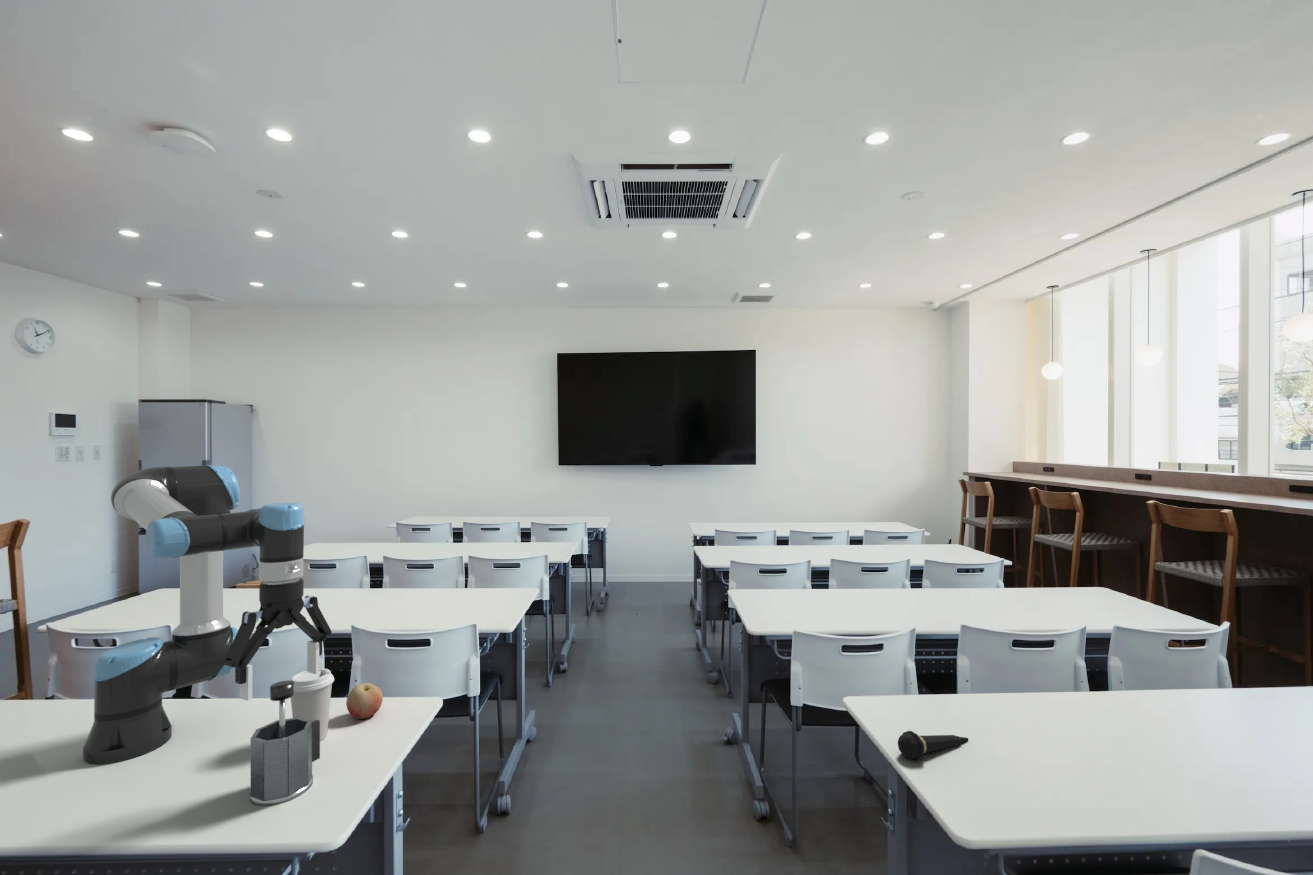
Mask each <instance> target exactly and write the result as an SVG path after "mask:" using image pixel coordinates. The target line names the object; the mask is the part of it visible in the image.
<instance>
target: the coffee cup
mask: <svg viewBox="0 0 1313 875" xmlns="http://www.w3.org/2000/svg"><path fill="white" fill-rule="evenodd" d="M331 672H332V671H331V670H330V669H328V668H320V667H319V673H318V674H313V673H309V672H307V670H304V671H300V672H298V673H296V674H294V675H293V676H292V677H291V679H290V681H293V682H294V695H293V696H292V697H290V704H291V713H292V714H291V715H292V718H296V717H301V718H305V719H308V720H312V722H313V721H315V720H320V742H321V741H323V740H325V739H326V738H327V736H328V728H329V718H330V706H331V697H332V696H331V695H332V686H333V683H334V682H335V677H334V675H333V674H332V673H331Z"/></svg>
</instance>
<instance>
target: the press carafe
mask: <svg viewBox="0 0 1313 875" xmlns="http://www.w3.org/2000/svg"><path fill="white" fill-rule="evenodd" d="M320 758H321V741H320V720H315V721H313V722H312V720H308V719H305V718H301V717H296V718H293V717H290V718H285V738H280V739H279V719H278V720H274V721H273V722H270V723H268V724H266V725H263V726H261V727H259V728H256V729H255V731H254V733H253V734H252V736H251V737H250V793H249V794H250V795H249V800H250V802H251V804H253V805H256V806H259V807H260V806H261V807H262V806H263V807H264V806H265V807H267V806H268V807H269V806H274V805H279V804H280V805H281V804H283V803H287V802H289V801H292V800H293V799H295V798H298V797H299V796H301V795H302V794H304V793H306V792H308V790H309V789H310V788H312V785H313V783H314V776H313V763H314V762H315V761H317V760H319V759H320Z"/></svg>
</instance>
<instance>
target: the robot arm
mask: <svg viewBox="0 0 1313 875" xmlns="http://www.w3.org/2000/svg"><path fill="white" fill-rule="evenodd" d="M240 500H241V492H240V486H239V482H238V479H237V476H236V475H235V473H234V472H233V470H231V469H230V468H229V467H227V466H225V465H211V464H206V465H184V466H183V465H182V466H154V467H148V468H144V469H140V470H137V471H134V472H132V473H130V474H128V475H126V476H125V477H123V478H122V479H120V481H119V482H118V483H116V485H115V486H114V488H113V490H112V491H111V495H110V502H111V504H112V505H111V506H112V508H113V509H114V510H115V511H116V512H117V513H118V515H120V516H121V517H123V518H124V519H127V520H130V521H135V522H136V523H137V524H139V525H140V526H141V527H142V528H143V529H144V530H145V544H146V545H145V546H146V549H147V550H148V551H147V552H148V554H149V557H151V558H153V559H167V558H171V559H176V558H177V559H178V558H179V624H177V626H176V627H175V628H173V629H172V631H171V640H168V641H163V640H162V638H160V637H155V636H154V637H147V638H140V639H135V640H131V641H128V642H125V643H122V644H120V645H117V646H115V647H113V648H110V649H108V650H107V651H104V652H102V654H101V655H99V656H98V657H97V659H96V660H95V664H94V672H93V676H92V679H93V682H94V683H93V684H94V685H93V689H94V694H93V695H94V696H93V698H94V699H93V702H94V704H93V705H94V706H93V707H94V708H93V709H94V710H93V717H94V718H93V723H92V726H91V729H90V731H89V733H88V736H87V739H86V741H85V744H84V746H83V748H82V749H83V750H82V752H83V753H82V761H83V762H85V763H87V764H92V765H100V764H101V765H102V764H104V765H105V764H112V763H116V762H121V761H125V760H129V759H132V758H136V757H139V756H141V755H145V754H147V753H149V752H152V751H153V750H157V749H158V748H160V747H162V746H163V745H165V744H166V743H167V742H169V741H170V739H172V735H173V734H172V731H173V730H172V729H173V728H172V727H173V726H172V723H171V721H170V720H169V717H168V715H167V713H166V711H165V709H164V706H163V694H164V693H167V692H169V691H170V692H171V691H174V690H177V689H183V688H185V687H189V686H192V685H196V684H199V683H203V682H210V681H213V680H215V679H217V678H219V677H223V676H226V675H228V674H230V673H231V672H232V671H233V670H234V668H235V670H234V677H235V678H234V681H235V683H236V684H238V686H239V692H238V693H239V695H238V696H239V700H240V699H241V700H244V701H247V702H248V701H249V702H250V701H251V700H253V664H249V663H250V662H251V661H252V659H253V658H254V656H255V655H256V653H257V652H258V651H259V649H260V648H261V646H262V644H263V643H264V642H265V640H266V639H267V637H268V636H269V635H270V634H272V633H273V631H274V630H275V629H277V630H278V629H281V628H284V627H285V626H292V625H293V623H294V625H296V626H297V627H298V629H300V630H301V631H302V632H303V633H304V634H306V636H307V637H309V638H310V639H311V640H309V641H307V648H306V649H307V651H306V652H307V653H306V654H307V656H306V657H307V663H306V665H307V666H306V668H307V669H306V671H307V672H309V673H313V674H318V673H319V669H320V657H321V656H322V654H323V643H324V642H325V641H326V640H327V636H331V635H332V630H331V627H330V625H329V623H328V622H327V620H326V618H325V616H324V614H323V613H322V611H321V609H320V606H319V602H318V597H317V596H313V595H306V596H305V597H304V598H303V596H304V589H305V588H304V579H303V578H302V577H303V576H304V551H305V550H304V547H305V546H304V542H305V540H304V538H305V522H306V520H305V516H304V507H303V505H302V504H300V503H297V502H278V503H270V504H269V503H268V504H264V505H262V506H261V507H260V508H256V509H255V508H252V509H246V510H244V511H237V512H231V511H234V510H236V509H238V507H239V506H240ZM253 547H254V548H255V547H258V548H259V567H258V568H259V572H258V574H259V576H258V577H259V578H258V579H259V581H260V582H261V583H260V584H259V585H258V586H259V587H258V588H259V589H258V590H259V591H258V592H259V593H258V594H259V595H258V596H259V597H258V598H259V600H258V601H259V604H260V607H259V610H256V611H252V612H251V611H246V610H245V611H244V612H243V613H242V616H241V624H240V625H239V628H236V627H233V626H231V622H230V620H228V619H227V618H225V617H224V551H231V550H239V549H246V548H247V549H248V548H253ZM303 608H305V610H306V612H307V614H308V616H309V617H310V619H311V621H312V622H313V624H314V625H313V624H311V623H310V621H308V620H307V619H306V616H304V615H303V614H302V613H301V612H302V610H303ZM259 619H260V622H259ZM256 623H258V624H256ZM256 625H257V626H256ZM254 629H255V630H254Z"/></svg>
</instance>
